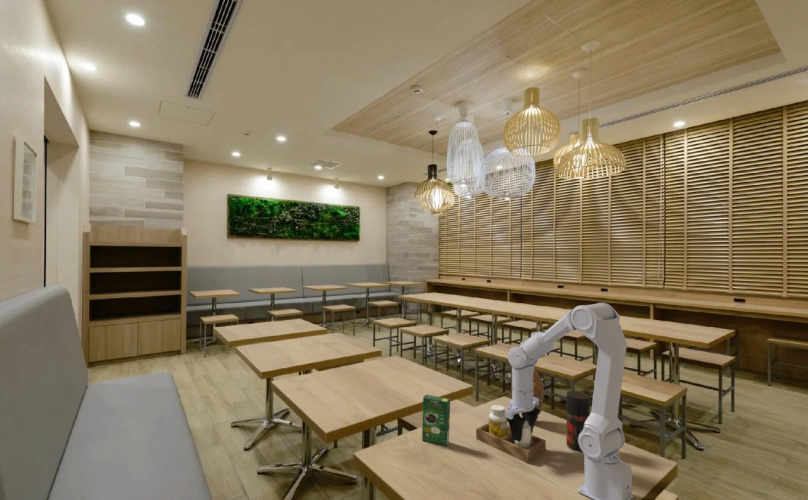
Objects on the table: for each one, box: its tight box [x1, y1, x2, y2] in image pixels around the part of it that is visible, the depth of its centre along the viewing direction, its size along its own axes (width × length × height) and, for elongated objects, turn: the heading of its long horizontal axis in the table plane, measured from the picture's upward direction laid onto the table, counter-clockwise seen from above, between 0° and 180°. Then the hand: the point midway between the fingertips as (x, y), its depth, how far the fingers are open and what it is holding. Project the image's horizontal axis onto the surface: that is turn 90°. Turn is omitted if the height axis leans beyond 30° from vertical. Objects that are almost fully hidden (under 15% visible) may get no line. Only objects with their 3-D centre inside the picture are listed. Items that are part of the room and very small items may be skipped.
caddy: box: [475, 422, 547, 464], centre depth 109 cm, size 17×10×3 cm, turn 41°
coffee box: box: [421, 394, 451, 446], centre depth 111 cm, size 8×3×13 cm, turn 67°
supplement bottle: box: [488, 404, 508, 438], centre depth 112 cm, size 5×5×10 cm
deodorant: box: [566, 390, 590, 453], centre depth 108 cm, size 6×6×15 cm
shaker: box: [514, 420, 532, 450], centre depth 106 cm, size 4×4×8 cm
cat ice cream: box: [533, 370, 545, 423], centre depth 124 cm, size 9×8×18 cm
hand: (522, 436), depth 106 cm, fingers open, 5 cm apart
